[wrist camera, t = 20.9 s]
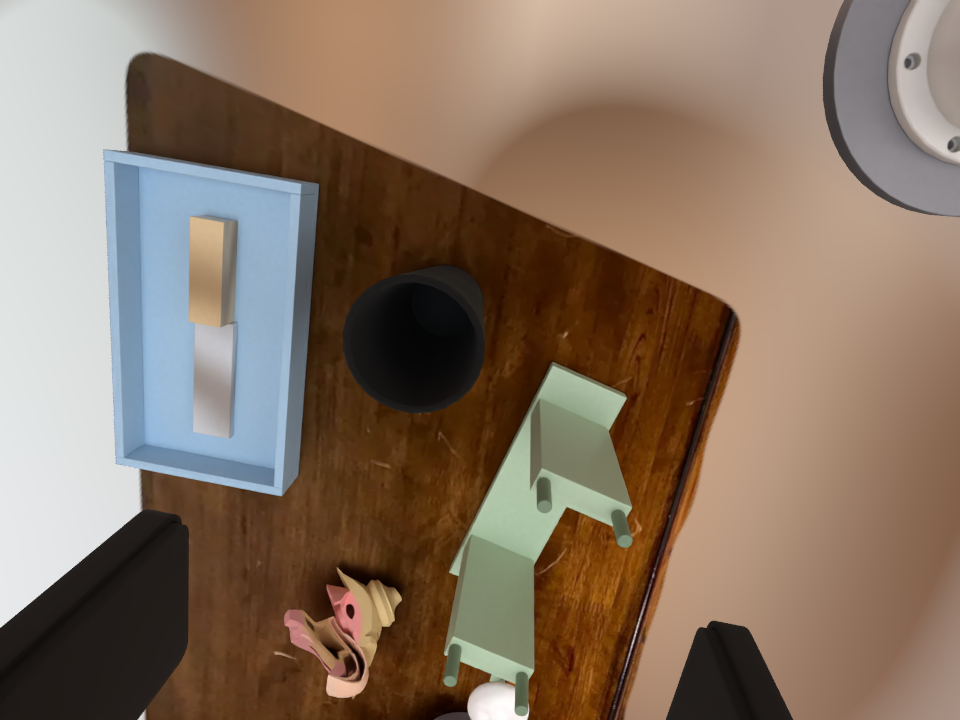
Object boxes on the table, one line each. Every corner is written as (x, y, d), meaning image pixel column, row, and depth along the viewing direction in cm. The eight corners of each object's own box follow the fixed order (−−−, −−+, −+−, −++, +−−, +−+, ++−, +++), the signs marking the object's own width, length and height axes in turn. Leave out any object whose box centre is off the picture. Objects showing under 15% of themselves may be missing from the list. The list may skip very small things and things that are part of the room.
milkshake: (505, 662, 51) (498, 773, 41) (467, 622, 50) (451, 725, 40) (545, 639, 49) (548, 747, 40) (507, 597, 48) (501, 697, 39)
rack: (552, 361, 42) (561, 446, 28) (625, 393, 42) (670, 493, 28) (450, 565, 48) (417, 717, 34) (514, 592, 48) (508, 754, 34)
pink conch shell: (377, 533, 48) (425, 638, 43) (383, 582, 56) (425, 676, 50) (268, 583, 45) (306, 704, 39) (290, 628, 52) (324, 735, 46)
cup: (465, 371, 43) (440, 438, 31) (376, 320, 42) (319, 369, 31) (517, 284, 41) (511, 322, 29) (425, 229, 40) (382, 246, 29)
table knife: (201, 213, 40) (185, 215, 38) (242, 221, 40) (228, 223, 38) (197, 428, 45) (182, 439, 44) (233, 435, 45) (220, 446, 43)
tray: (136, 152, 40) (102, 149, 37) (319, 183, 40) (301, 183, 37) (143, 445, 47) (115, 464, 44) (298, 475, 47) (281, 496, 44)
